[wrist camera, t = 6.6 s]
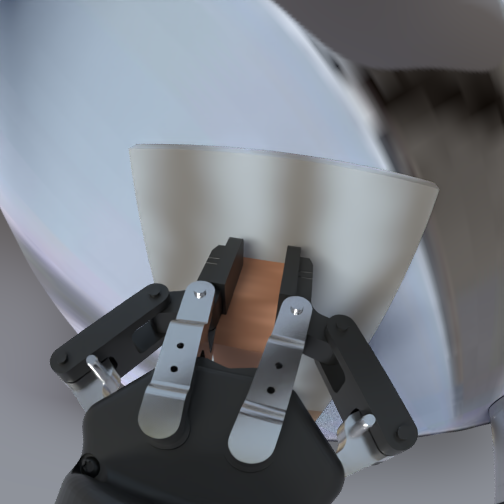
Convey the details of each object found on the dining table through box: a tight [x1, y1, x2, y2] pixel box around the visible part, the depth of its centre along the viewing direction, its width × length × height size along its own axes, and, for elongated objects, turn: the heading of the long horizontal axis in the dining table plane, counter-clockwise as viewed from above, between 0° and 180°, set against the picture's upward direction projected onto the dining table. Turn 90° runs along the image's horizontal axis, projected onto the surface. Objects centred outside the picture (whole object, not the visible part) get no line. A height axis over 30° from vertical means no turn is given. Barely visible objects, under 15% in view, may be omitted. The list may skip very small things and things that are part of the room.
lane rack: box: [129, 144, 439, 421], centre depth 24 cm, size 16×39×3 cm, turn 178°
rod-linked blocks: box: [213, 257, 284, 368], centre depth 20 cm, size 6×20×6 cm, turn 178°
